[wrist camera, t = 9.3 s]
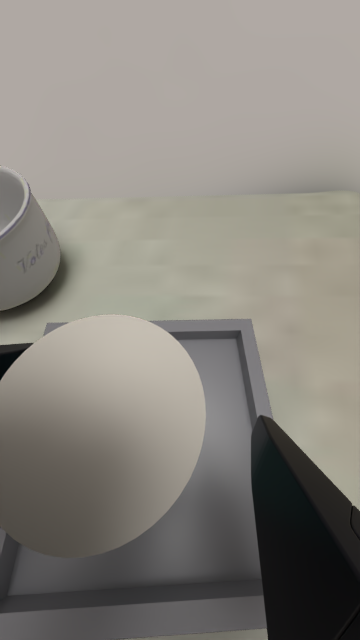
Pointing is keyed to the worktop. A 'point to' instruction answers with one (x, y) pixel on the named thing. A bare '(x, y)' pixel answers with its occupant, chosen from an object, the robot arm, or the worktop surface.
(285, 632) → the robot arm
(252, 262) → the worktop surface
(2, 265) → the teacup
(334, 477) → the worktop surface
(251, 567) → the tray
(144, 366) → the canister
